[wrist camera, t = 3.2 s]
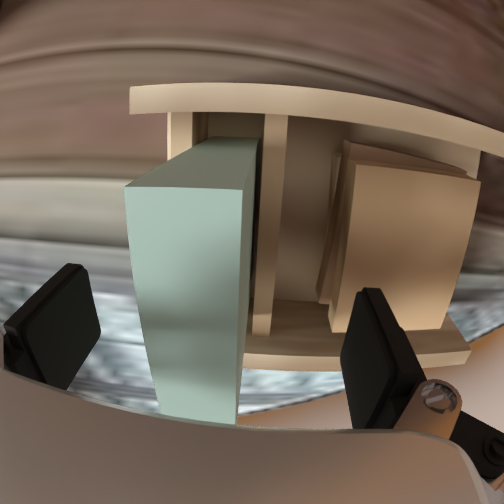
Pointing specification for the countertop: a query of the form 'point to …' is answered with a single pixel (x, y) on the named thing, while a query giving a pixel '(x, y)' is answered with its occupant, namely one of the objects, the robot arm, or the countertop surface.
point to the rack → (309, 197)
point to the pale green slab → (195, 273)
